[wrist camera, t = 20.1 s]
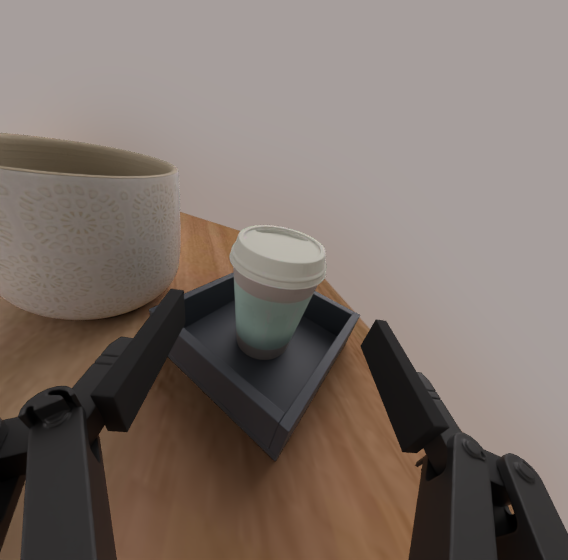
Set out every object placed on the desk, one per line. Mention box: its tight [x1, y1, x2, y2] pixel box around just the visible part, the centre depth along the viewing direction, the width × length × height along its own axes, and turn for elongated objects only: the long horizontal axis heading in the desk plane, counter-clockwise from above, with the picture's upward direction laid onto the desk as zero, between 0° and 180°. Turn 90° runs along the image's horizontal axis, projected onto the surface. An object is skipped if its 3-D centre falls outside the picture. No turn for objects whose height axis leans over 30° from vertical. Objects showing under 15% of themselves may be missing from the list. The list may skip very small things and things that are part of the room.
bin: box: [149, 272, 360, 461], centre depth 23 cm, size 16×16×5 cm
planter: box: [0, 133, 180, 320], centre depth 23 cm, size 17×17×15 cm
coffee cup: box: [230, 225, 327, 360], centre depth 21 cm, size 8×8×12 cm
